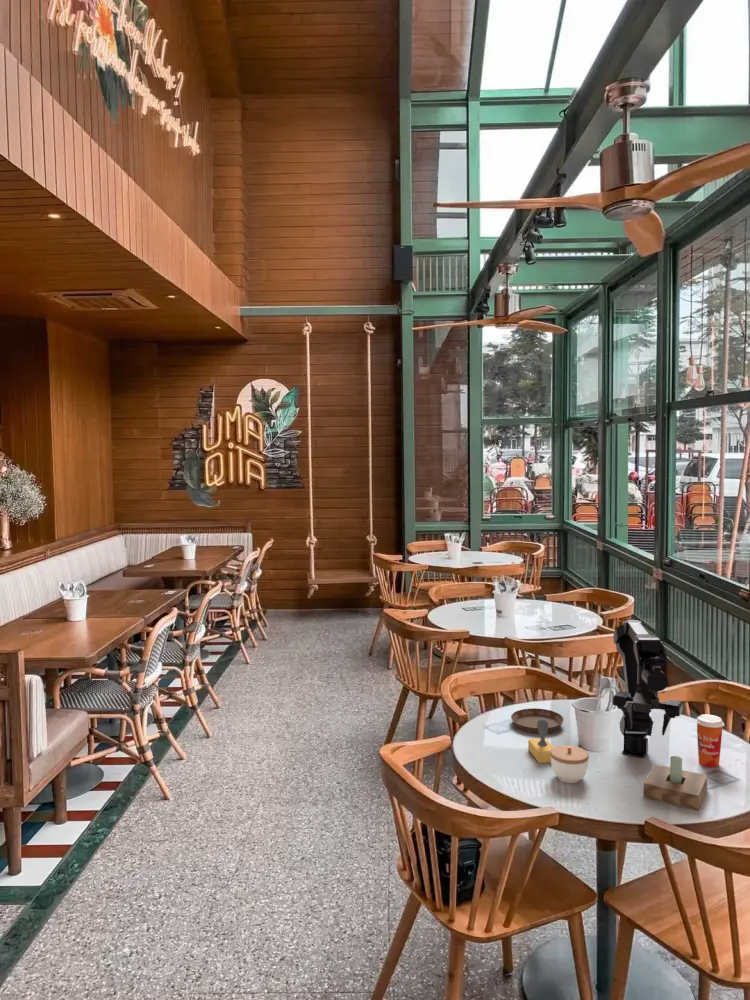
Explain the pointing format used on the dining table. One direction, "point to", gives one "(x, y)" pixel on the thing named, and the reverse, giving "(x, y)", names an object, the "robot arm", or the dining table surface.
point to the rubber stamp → (541, 743)
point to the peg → (676, 769)
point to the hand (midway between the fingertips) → (646, 731)
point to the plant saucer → (536, 719)
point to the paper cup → (709, 739)
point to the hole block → (675, 787)
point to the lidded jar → (569, 763)
